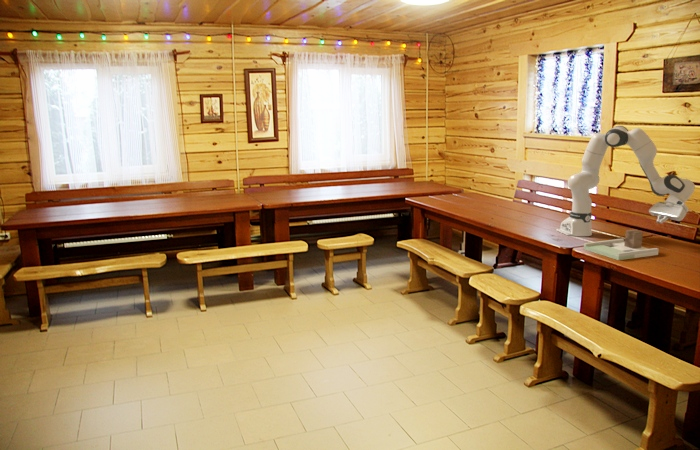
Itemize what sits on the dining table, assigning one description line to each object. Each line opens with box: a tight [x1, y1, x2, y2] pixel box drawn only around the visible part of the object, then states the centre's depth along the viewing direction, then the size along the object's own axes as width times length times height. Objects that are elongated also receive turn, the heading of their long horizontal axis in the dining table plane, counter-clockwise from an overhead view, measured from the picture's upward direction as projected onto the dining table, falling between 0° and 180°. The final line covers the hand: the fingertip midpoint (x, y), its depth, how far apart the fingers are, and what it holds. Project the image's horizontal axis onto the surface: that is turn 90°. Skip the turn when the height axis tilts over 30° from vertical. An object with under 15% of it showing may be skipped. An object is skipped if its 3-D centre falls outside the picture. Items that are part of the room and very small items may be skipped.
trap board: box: [583, 238, 659, 261], centre depth 319 cm, size 25×28×4 cm
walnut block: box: [624, 229, 644, 249], centre depth 322 cm, size 6×6×9 cm
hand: (658, 222), depth 326 cm, fingers closed
